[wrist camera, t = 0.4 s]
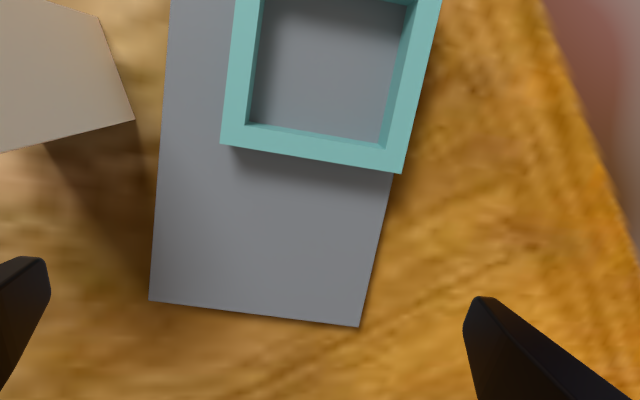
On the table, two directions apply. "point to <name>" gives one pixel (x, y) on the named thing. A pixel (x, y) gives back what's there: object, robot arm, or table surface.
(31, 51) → the column
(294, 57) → the baseplate
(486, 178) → the table surface
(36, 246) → the table surface
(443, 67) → the table surface
